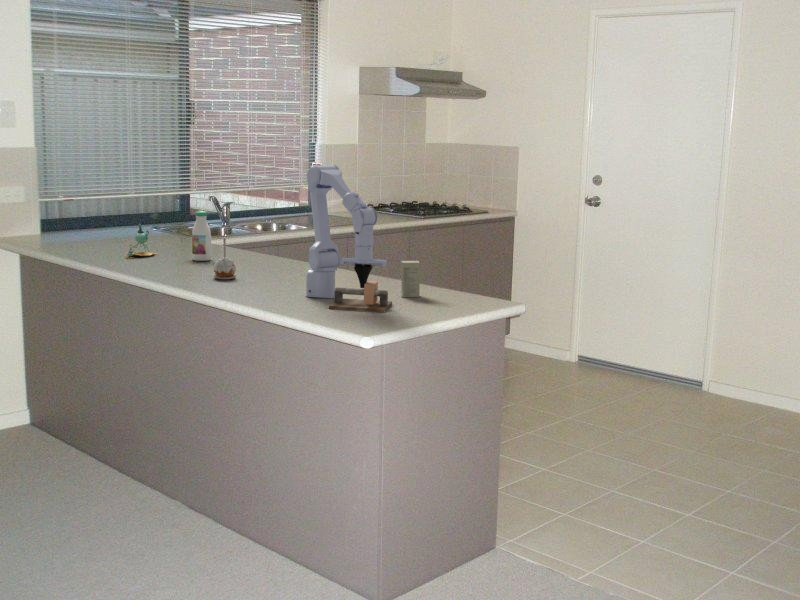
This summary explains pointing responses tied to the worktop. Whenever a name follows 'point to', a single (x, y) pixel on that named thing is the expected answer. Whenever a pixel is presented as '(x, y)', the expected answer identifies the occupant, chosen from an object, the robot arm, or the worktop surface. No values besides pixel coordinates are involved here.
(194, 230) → the milk bottle
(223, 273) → the decorative ornament
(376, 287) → the collar
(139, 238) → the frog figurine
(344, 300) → the pipe rig
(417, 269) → the skincare box
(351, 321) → the worktop surface
